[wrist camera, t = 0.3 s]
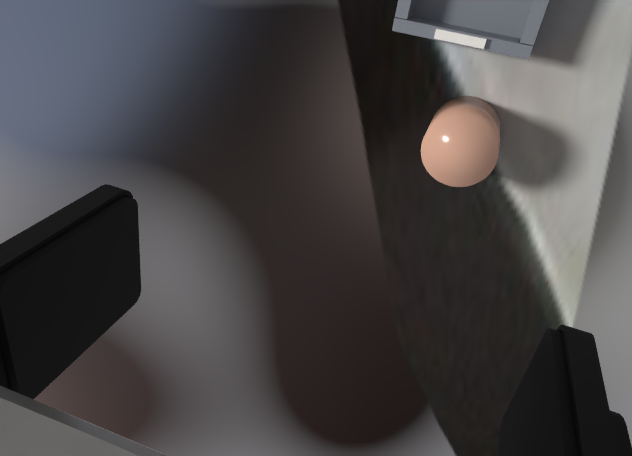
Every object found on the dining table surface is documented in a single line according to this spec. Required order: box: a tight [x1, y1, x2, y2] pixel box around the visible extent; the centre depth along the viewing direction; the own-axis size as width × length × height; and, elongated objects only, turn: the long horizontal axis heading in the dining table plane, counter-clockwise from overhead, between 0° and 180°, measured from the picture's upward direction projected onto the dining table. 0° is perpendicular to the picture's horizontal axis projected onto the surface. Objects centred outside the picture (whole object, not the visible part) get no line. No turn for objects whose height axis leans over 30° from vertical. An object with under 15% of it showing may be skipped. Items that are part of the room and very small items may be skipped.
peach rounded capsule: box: [421, 96, 500, 187], centre depth 36 cm, size 5×5×5 cm
